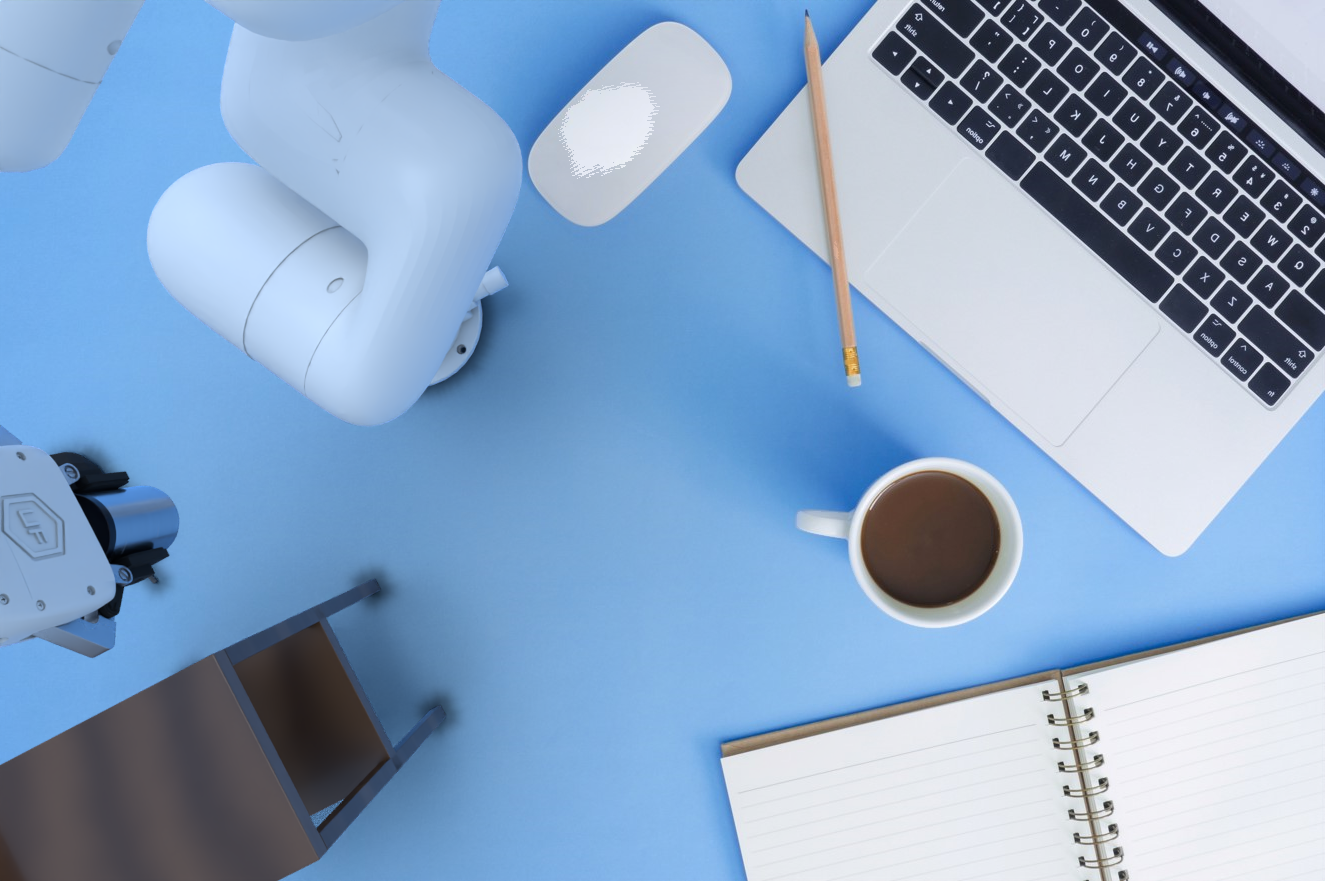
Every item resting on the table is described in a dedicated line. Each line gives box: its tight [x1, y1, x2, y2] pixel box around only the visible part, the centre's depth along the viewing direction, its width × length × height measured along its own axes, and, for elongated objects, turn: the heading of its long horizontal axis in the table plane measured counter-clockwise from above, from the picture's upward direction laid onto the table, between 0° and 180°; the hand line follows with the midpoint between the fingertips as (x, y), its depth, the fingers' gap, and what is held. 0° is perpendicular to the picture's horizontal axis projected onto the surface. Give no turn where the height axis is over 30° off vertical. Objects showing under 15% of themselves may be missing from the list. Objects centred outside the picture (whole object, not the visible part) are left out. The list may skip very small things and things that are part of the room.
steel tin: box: [73, 485, 180, 564], centre depth 56 cm, size 5×5×7 cm
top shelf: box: [0, 648, 328, 881], centre depth 53 cm, size 20×14×3 cm
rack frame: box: [223, 578, 447, 851], centre depth 67 cm, size 20×14×25 cm
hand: (127, 524), depth 57 cm, fingers closed on steel tin, 4 cm apart
